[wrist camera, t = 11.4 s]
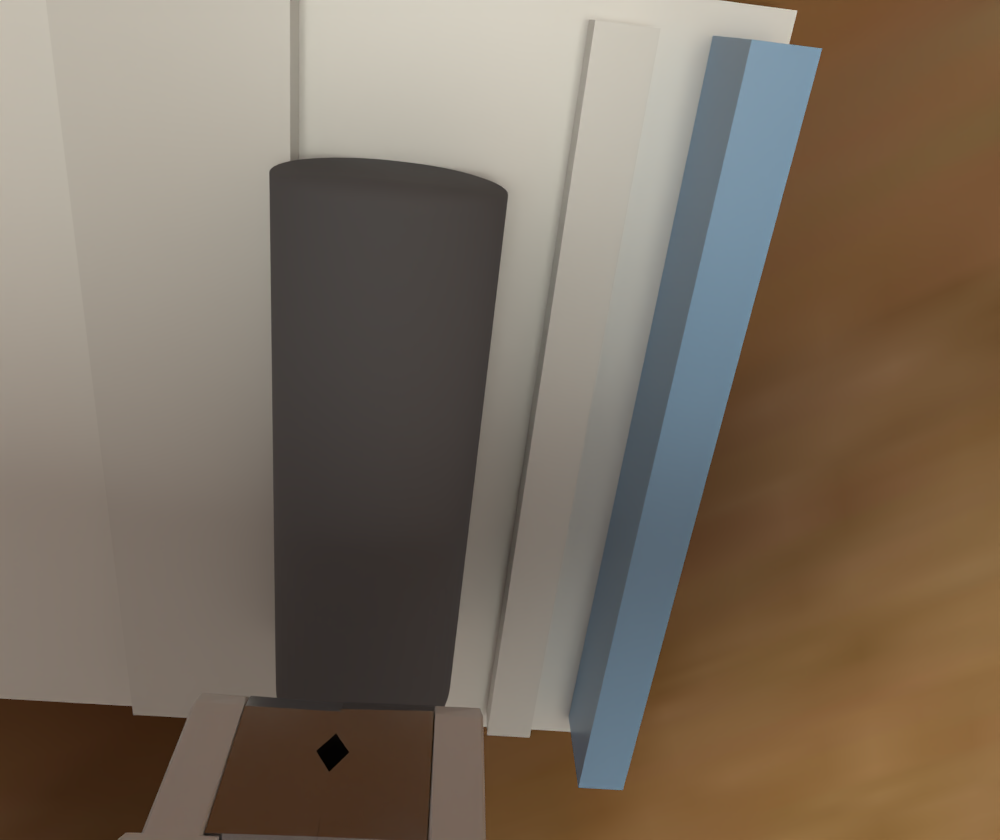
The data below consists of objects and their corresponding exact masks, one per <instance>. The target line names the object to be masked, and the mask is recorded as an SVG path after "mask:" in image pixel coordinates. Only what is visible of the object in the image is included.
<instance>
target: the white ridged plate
mask: <svg viewBox="0 0 1000 840" xmlns="http://www.w3.org/2000/svg"><path fill="white" fill-rule="evenodd" d="M796 14H797V11H796V10H788V9H781V8H773V7H766V6H758V5H751V4H743V3H736V2H729V1H721V0H0V699H18V700H35V701H52V702H69V703H86V704H103V705H120V706H132V710H133V715H145V716H163V717H180V718H187V717H188V715H189V712H190V710H191V707H192V705H193V704H194V702H195V701H196V700H197V699H198V697H199V696H200V695H201V693H212V694H225V695H238V696H261V697H274V698H277V696H276V661H275V582H274V503H273V425H272V346H271V267H270V189H269V171H270V169H271V168H272V167H274V166H276V165H278V164H281V163H284V162H288V161H294V160H301V159H311V158H368V159H382V160H392V161H401V162H410V163H417V164H424V165H430V166H436V167H441V168H447V169H451V170H456V171H460V172H464V173H468V174H472V175H475V176H478V177H481V178H484V179H487V180H489V181H492V182H494V183H496V184H498V185H500V186H501V187H503V188H504V189H505V190H506V191H507V192H508V201H507V210H506V218H505V226H504V235H503V243H502V252H501V260H500V269H499V277H498V286H497V294H496V303H495V311H494V319H493V328H492V336H491V345H490V353H489V362H488V370H487V379H486V387H485V396H484V404H483V413H482V421H481V429H480V438H479V446H478V455H477V463H476V472H475V480H474V489H473V497H472V506H471V514H470V522H469V531H468V539H467V548H466V556H465V565H464V573H463V582H462V590H461V599H460V607H459V616H458V624H457V632H456V641H455V649H454V658H453V666H452V675H451V683H450V691H449V695H448V699H447V702H446V704H445V706H446V707H468V708H480V710H481V712H482V714H483V727H487V735H493V736H511V737H528V738H530V733H531V729H532V730H549V731H566V732H571V738H572V745H573V753H574V760H575V767H576V774H577V782H578V788H595V789H614V790H623V788H624V784H625V780H626V776H627V773H628V769H629V765H630V762H631V758H632V754H633V750H634V747H635V743H636V739H637V735H638V732H639V728H640V724H641V721H642V717H643V713H644V709H645V706H646V702H647V698H648V695H649V691H650V687H651V683H652V680H653V676H654V672H655V668H656V665H657V661H658V657H659V654H660V650H661V646H662V642H663V639H664V635H665V631H666V628H667V624H668V620H669V616H670V613H671V609H672V605H673V601H674V598H675V594H676V590H677V587H678V583H679V579H680V575H681V572H682V568H683V564H684V561H685V557H686V553H687V549H688V546H689V542H690V538H691V534H692V531H693V527H694V523H695V520H696V516H697V512H698V508H699V505H700V501H701V497H702V494H703V490H704V486H705V482H706V479H707V475H708V471H709V467H710V464H711V460H712V456H713V453H714V449H715V445H716V441H717V438H718V434H719V430H720V427H721V423H722V419H723V415H724V412H725V408H726V404H727V400H728V397H729V393H730V389H731V386H732V382H733V378H734V374H735V371H736V367H737V363H738V360H739V356H740V352H741V348H742V345H743V341H744V337H745V333H746V330H747V326H748V322H749V319H750V315H751V311H752V307H753V304H754V300H755V296H756V293H757V289H758V285H759V281H760V278H761V274H762V270H763V266H764V263H765V259H766V255H767V252H768V248H769V244H770V240H771V237H772V233H773V229H774V226H775V222H776V218H777V214H778V211H779V207H780V203H781V199H782V196H783V192H784V188H785V185H786V181H787V177H788V173H789V170H790V166H791V162H792V159H793V155H794V151H795V147H796V144H797V140H798V136H799V132H800V129H801V125H802V121H803V118H804V114H805V110H806V106H807V103H808V99H809V95H810V92H811V88H812V84H813V80H814V77H815V73H816V69H817V65H818V62H819V58H820V54H821V51H822V49H821V48H814V47H806V46H798V45H791V44H789V42H790V38H791V34H792V30H793V26H794V22H795V18H796Z"/></svg>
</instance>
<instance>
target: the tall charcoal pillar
mask: <svg viewBox="0 0 1000 840" xmlns="http://www.w3.org/2000/svg"><path fill="white" fill-rule="evenodd" d="M269 189H270V267H271V346H272V425H273V503H274V582H275V661H276V696H277V698H286V699H299V700H312V701H324V702H337V703H343V702H359V703H383V704H407V705H431V706H434V708H435V706H445V704H446V702H447V699H448V695H449V691H450V683H451V675H452V666H453V658H454V649H455V641H456V632H457V624H458V616H459V607H460V599H461V590H462V582H463V573H464V565H465V556H466V548H467V539H468V531H469V522H470V514H471V506H472V497H473V489H474V480H475V472H476V463H477V455H478V446H479V438H480V429H481V421H482V413H483V404H484V396H485V387H486V379H487V370H488V362H489V353H490V345H491V336H492V328H493V319H494V311H495V303H496V294H497V286H498V277H499V269H500V260H501V252H502V243H503V235H504V226H505V218H506V210H507V201H508V192H507V191H506V190H505V189H504V188H503V187H501V186H500V185H498V184H496V183H494V182H492V181H489V180H487V179H484V178H481V177H478V176H475V175H472V174H468V173H464V172H460V171H456V170H451V169H447V168H441V167H436V166H430V165H424V164H417V163H410V162H401V161H392V160H382V159H368V158H311V159H301V160H294V161H288V162H284V163H281V164H278V165H276V166H274V167H272V168H271V169H270V171H269Z"/></svg>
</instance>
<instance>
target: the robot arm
mask: <svg viewBox="0 0 1000 840" xmlns="http://www.w3.org/2000/svg"><path fill="white" fill-rule="evenodd" d="M118 840H486V823H485V778H484V733H483V714H482V712H481V710H480V708H468V707H446V706H435V708H434V706H431V705H407V704H383V703H359V702H343V703H337V702H324V701H312V700H299V699H286V698H274V697H261V696H238V695H225V694H212V693H201V695H200V696H199V697H198V699H197V700H196V701H195V702H194V704H193V705H192V707H191V710H190V712H189V715H188V717H187V720H186V723H185V725H184V728H183V730H182V733H181V735H180V738H179V740H178V743H177V745H176V748H175V750H174V753H173V755H172V758H171V760H170V763H169V765H168V768H167V770H166V773H165V775H164V778H163V780H162V783H161V785H160V788H159V790H158V793H157V795H156V798H155V800H154V803H153V805H152V808H151V810H150V813H149V815H148V818H147V820H146V823H145V826H144V828H143V831H142V833H125V834H124V835H122V836H121V837H120V838H119V839H118Z"/></svg>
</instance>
